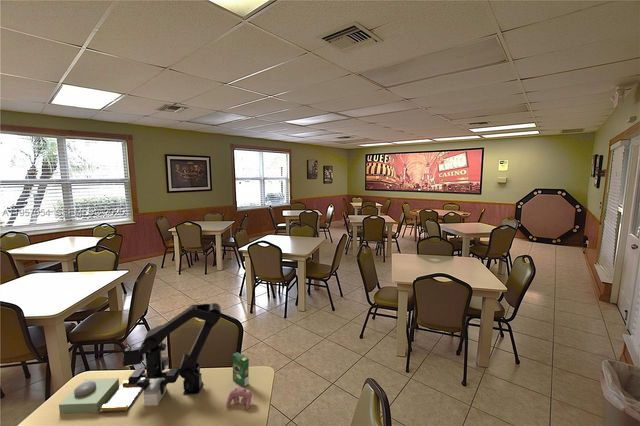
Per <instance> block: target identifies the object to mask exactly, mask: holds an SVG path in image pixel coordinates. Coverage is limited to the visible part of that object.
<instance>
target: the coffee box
mask: <svg viewBox="0 0 640 426" xmlns="http://www.w3.org/2000/svg"><path fill="white" fill-rule="evenodd" d="M249 360H250V359H249V357H247V356H245V355H243V354H242V353H240V352H238V351H236V352H235V353H233V354H232V380H233V381H234V382H235V383H237V384H238V385H240V386H241V385H242V387H243V386H244V387H243V388H245V387H246V386H248V385H249V375H250V374H249V373H250V372H249V369H250V368H249ZM247 384H248V385H247Z"/></svg>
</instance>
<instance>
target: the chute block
mask: <svg viewBox="0 0 640 426" xmlns="http://www.w3.org/2000/svg"><path fill="white" fill-rule="evenodd" d="M162 380H163V379H162V378H160V379H151V381H150V384H149V385H148V387H147V388H146V390H145V391H144V390H143V400H144V406H145V407H147V406H148V407H149V406H158V405H159V403H160V401H161V399H162V398H163V396H164V394H165V393H166V391H167V389H168V387H167V385H168V384H167V385H166V387H165V390H164V393H163V395H161V390H160V383H161V382H162Z"/></svg>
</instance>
